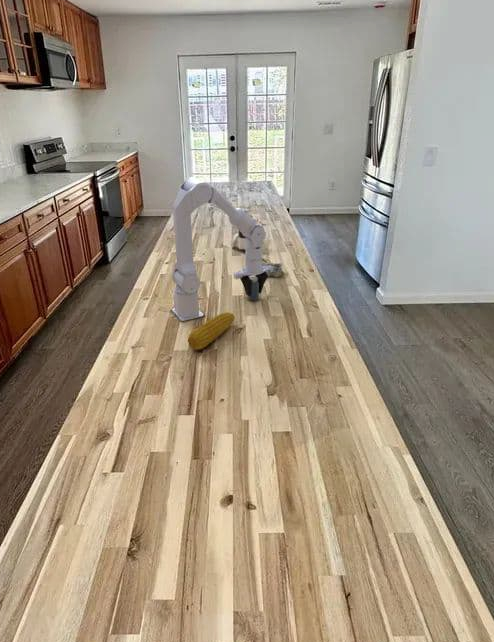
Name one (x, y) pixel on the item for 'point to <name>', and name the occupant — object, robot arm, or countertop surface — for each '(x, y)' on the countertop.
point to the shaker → (254, 289)
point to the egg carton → (274, 269)
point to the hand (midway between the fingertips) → (253, 293)
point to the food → (210, 330)
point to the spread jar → (238, 241)
